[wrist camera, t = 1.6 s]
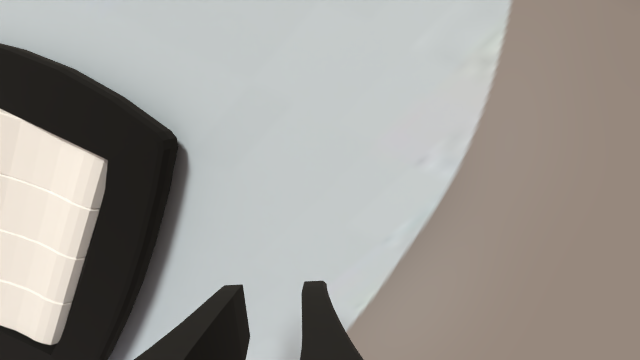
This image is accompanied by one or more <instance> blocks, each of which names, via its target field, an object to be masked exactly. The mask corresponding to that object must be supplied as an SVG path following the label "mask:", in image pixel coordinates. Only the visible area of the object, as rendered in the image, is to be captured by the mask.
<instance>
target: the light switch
mask: <svg viewBox="0 0 640 360" xmlns="http://www.w3.org/2000/svg"><path fill="white" fill-rule="evenodd" d="M177 149H178V144H177V138H176V136H175V135H174V134H173V133H172V131H171V130H169V129H168V128H166V127H165V126H164V125H162V124H161V123H159V122H158V121H157V120H155V119H154V118H152V117H151V116H150V115H148V114H147V113H146V112H144V111H143V110H141V109H140V108H139V107H137V106H136V105H134V104H133V103H132V102H130V101H129V100H128V99H126V98H125V97H123V96H121V95H119V94H118V93H116V92H114V91H112V90H111V89H109V88H107V87H105V86H104V85H102V84H100V83H98V82H96V81H95V80H93V79H91V78H89V77H88V76H86V75H84V74H82V73H81V72H79V71H77V70H75V69H73V68H70V67H68V66H65V65H63V64H60V63H58V62H55V61H53V60H50V59H48V58H45V57H42V56H40V55H37V54H35V53H32V52H30V51H27V50H24V49H20V48H16V47H12V46H8V45H4V44H1V43H0V360H108V358H109V356H110V354H111V353H112V351H113V349H114V347H115V344H116V342H117V340H118V338H119V336H120V334H121V332H122V330H123V328H124V325H125V323H126V321H127V319H128V317H129V315H130V312H131V310H132V307H133V305H134V302H135V300H136V297H137V295H138V292H139V290H140V287H141V285H142V282H143V280H144V277H145V274H146V270H147V267H148V264H149V261H150V258H151V255H152V252H153V249H154V246H155V243H156V239H157V236H158V232H159V228H160V224H161V220H162V217H163V213H164V209H165V205H166V201H167V197H168V194H169V189H170V184H171V179H172V174H173V169H174V164H175V159H176V154H177Z"/></svg>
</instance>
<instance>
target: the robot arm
mask: <svg viewBox="0 0 640 360" xmlns="http://www.w3.org/2000/svg"><path fill="white" fill-rule="evenodd" d="M249 339H250V332H249V325H248V319H247V312H246V305H245V298H244V291H243V285H225V286H223V287H222V288H221V289H220V290H218V291H217V292H216V293H215V294H214V295H213V296H211V297H210V298H209V299H208V300H207V301H206V302H205V303H204V304H202V305H201V306H200V307H199V308H198V309H197V310H196V311H194V312H193V313H192V314H191V315H190V316H189V317H187V318H186V319H185V320H184V321H183V322H182V323H180V324H179V325H178V326H177V327H176V328H174V329H173V330H172V331H171V332H169V333H168V334H167V335H166V336H164V337H163V338H162V339H161V340H159V341H158V342H157V343H155V344H154V345H153V346H152V347H150V348H149V349H148V350H146V351H145V352H144V353H142V354H141V355H140V356H138V357H137V358H135V359H134V360H245V359H246V355H247V350H248V344H249ZM300 360H363V358H362V357H361V356H360V354H359V353H358V351H357V349H356V348H355V346H354V345H353V343H352V342H351V340H350V338H349V337H348V335H347V333H346V332H345V330H344V328H343V326H342V324H341V322H340V320H339V318H338V316H337V314H336V312H335V310H334V308H333V306H332V303H331V300H330V298H329V295H328V291H327V284H326V283H325V282H324V281H308V282H304V285H303V290H302V350H301V357H300Z"/></svg>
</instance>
